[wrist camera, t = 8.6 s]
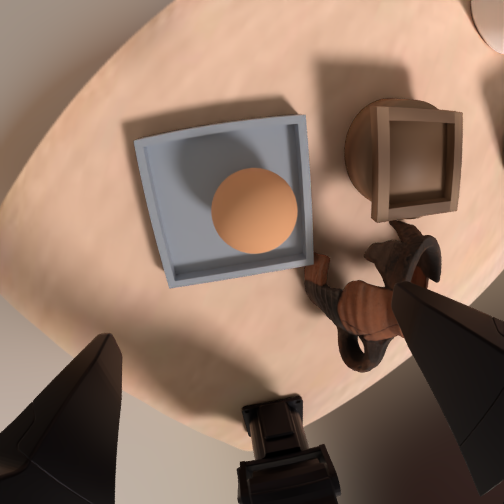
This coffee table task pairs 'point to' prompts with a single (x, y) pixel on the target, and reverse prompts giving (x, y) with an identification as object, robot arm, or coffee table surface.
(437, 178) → the open wooden box
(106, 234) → the coffee table surface
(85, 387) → the robot arm
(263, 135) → the tray
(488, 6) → the can
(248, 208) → the ball
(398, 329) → the pottery mug
